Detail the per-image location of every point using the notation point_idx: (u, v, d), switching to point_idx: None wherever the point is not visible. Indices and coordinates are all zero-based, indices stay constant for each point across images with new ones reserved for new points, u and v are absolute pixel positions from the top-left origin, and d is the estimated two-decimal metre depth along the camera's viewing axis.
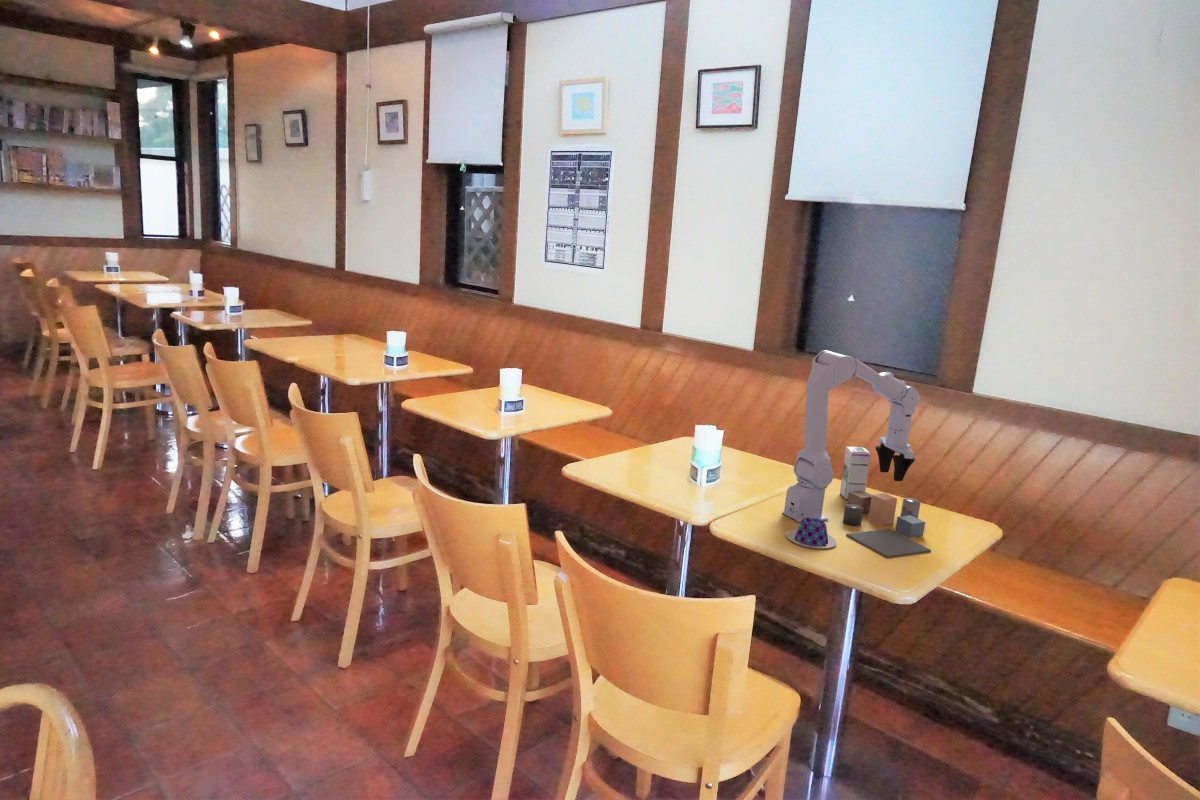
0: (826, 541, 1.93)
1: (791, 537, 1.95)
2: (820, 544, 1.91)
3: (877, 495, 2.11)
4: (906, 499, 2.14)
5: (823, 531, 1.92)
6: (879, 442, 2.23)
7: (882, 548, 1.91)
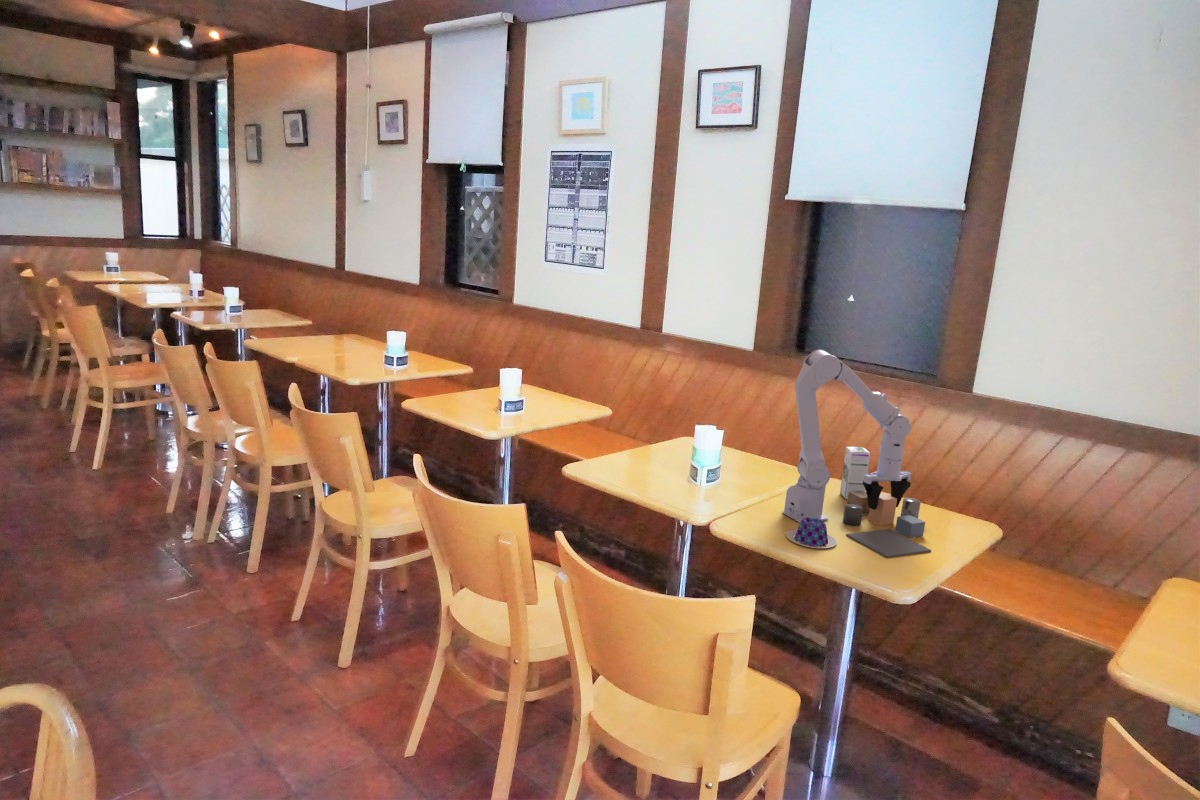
0: (826, 541, 1.93)
1: (791, 537, 1.96)
2: (820, 544, 1.91)
3: None
4: (906, 499, 2.14)
5: (823, 531, 1.92)
6: None
7: (882, 548, 1.91)
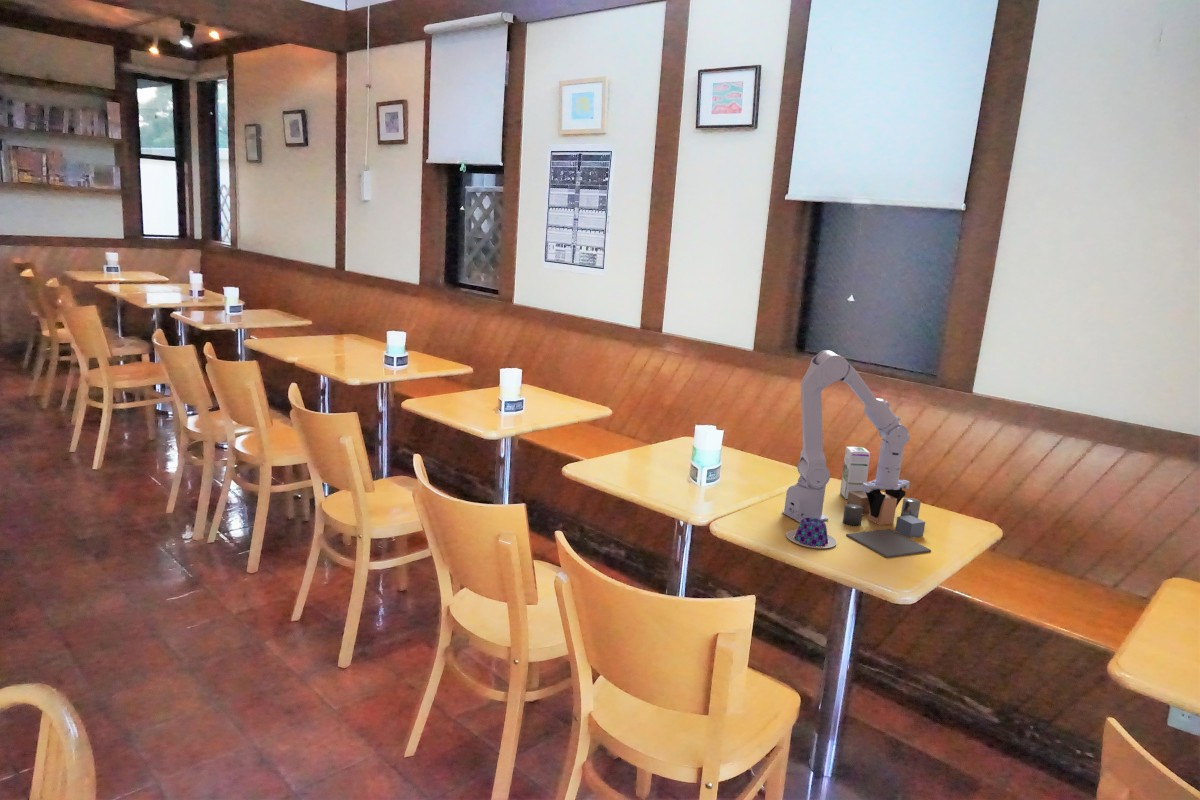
0: (826, 541, 1.93)
1: (791, 537, 1.96)
2: (820, 544, 1.91)
3: None
4: (906, 499, 2.14)
5: (823, 531, 1.92)
6: None
7: (882, 548, 1.91)
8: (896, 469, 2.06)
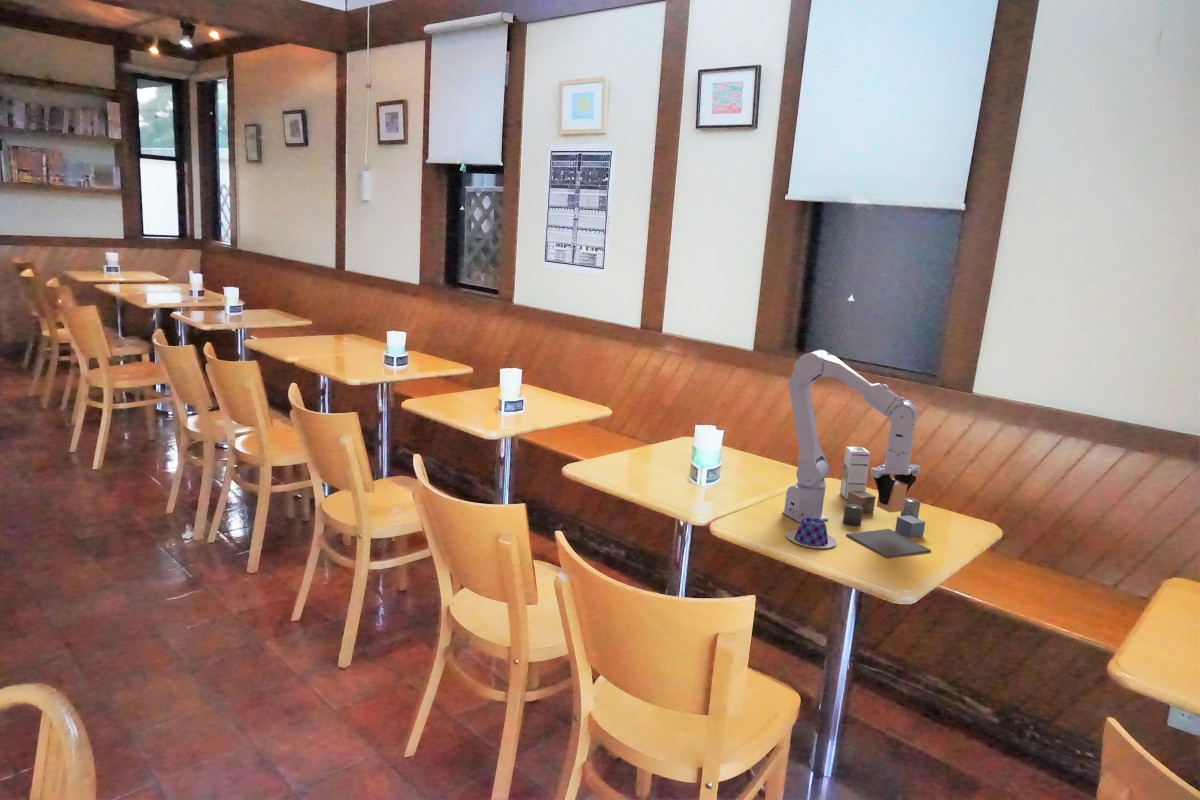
0: (826, 542, 1.93)
1: (791, 536, 1.96)
2: (819, 544, 1.91)
3: None
4: (906, 499, 2.14)
5: (822, 531, 1.92)
6: None
7: (882, 548, 1.91)
8: (907, 453, 1.94)
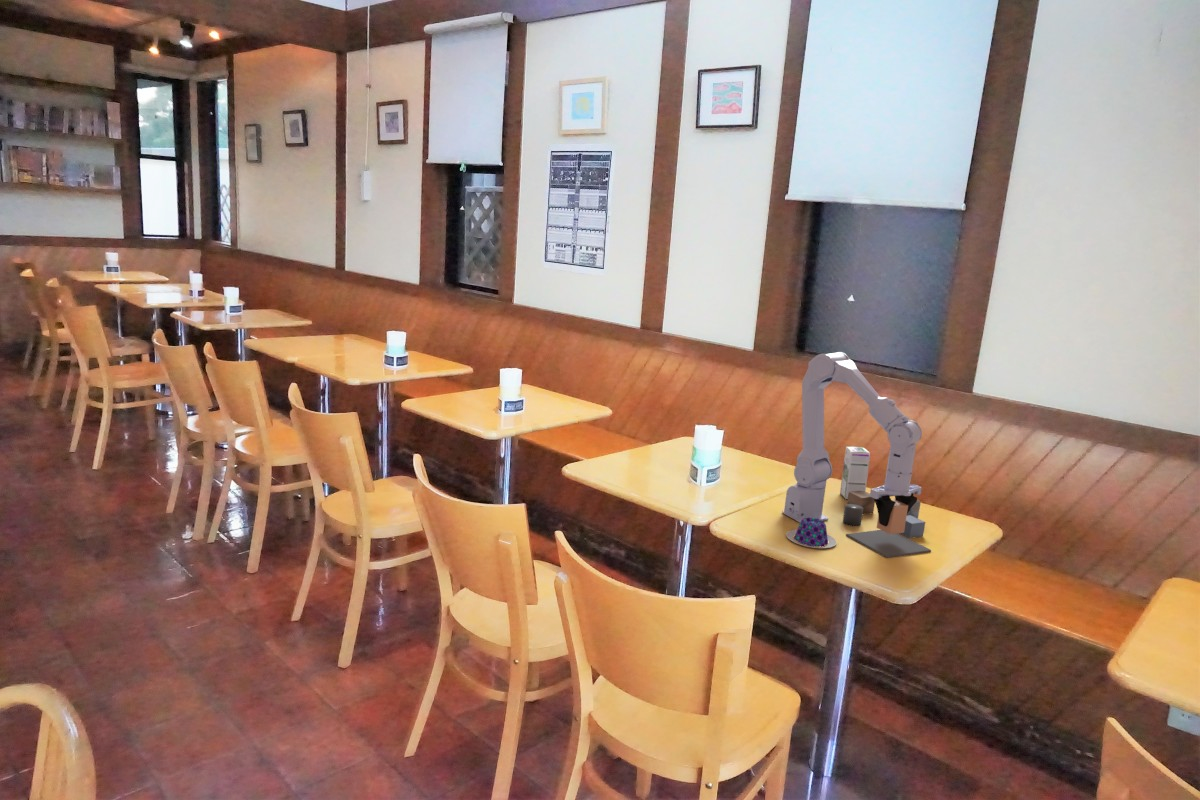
0: (825, 542, 1.93)
1: (791, 536, 1.96)
2: (818, 544, 1.91)
3: None
4: None
5: (822, 531, 1.91)
6: None
7: (882, 548, 1.91)
8: (907, 473, 1.90)
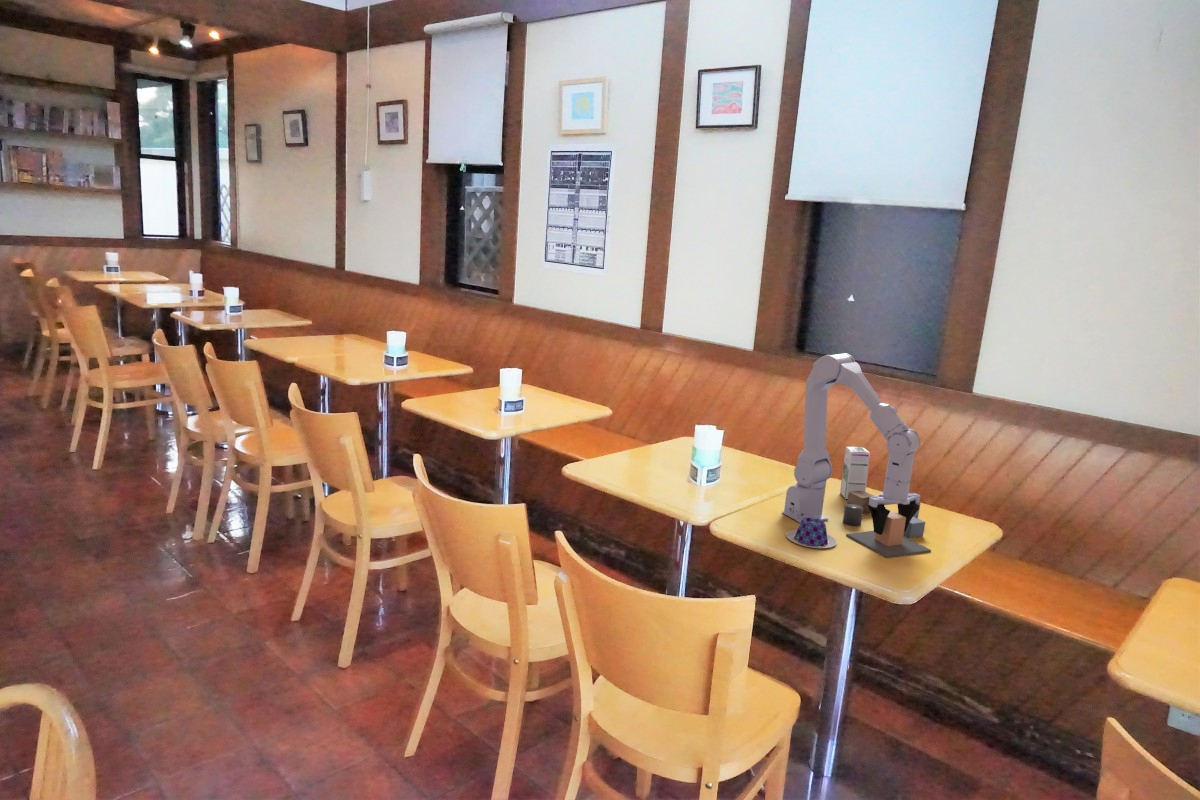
0: (825, 542, 1.93)
1: (791, 536, 1.96)
2: (818, 544, 1.91)
3: None
4: None
5: (821, 531, 1.91)
6: None
7: (882, 548, 1.91)
8: (906, 482, 1.90)
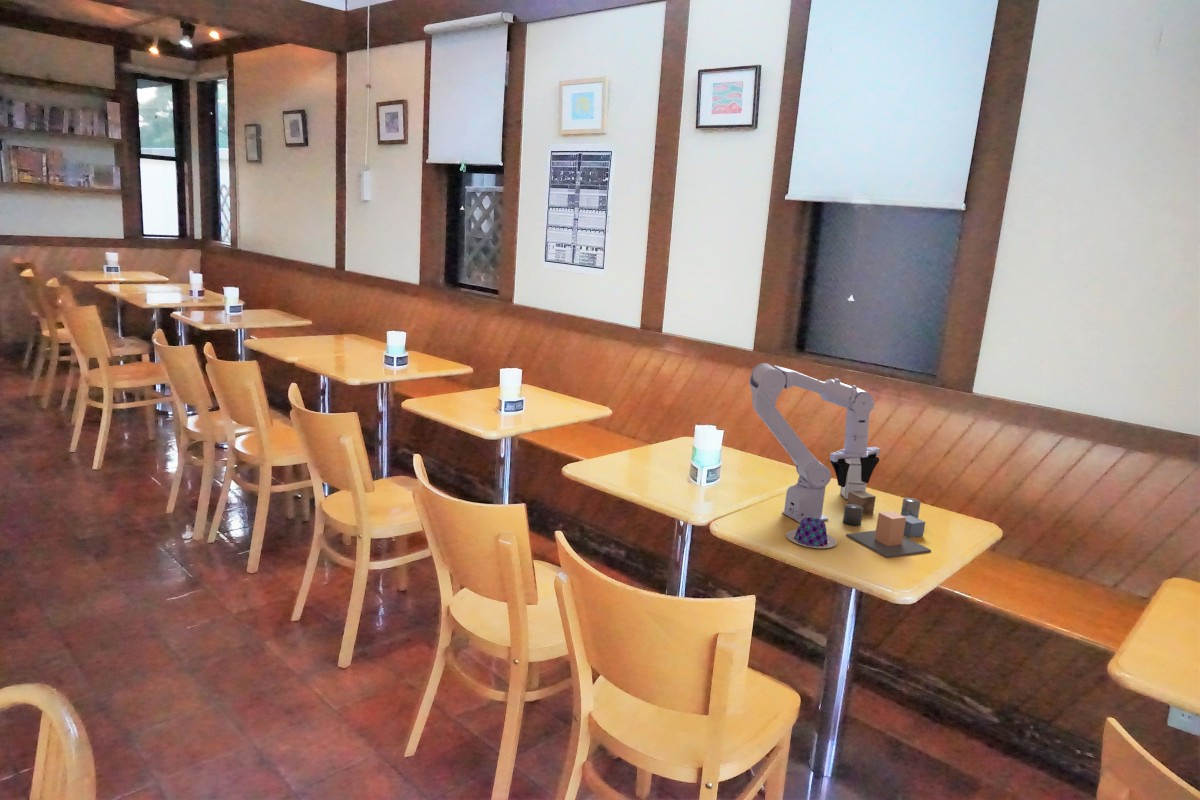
0: (825, 542, 1.92)
1: (791, 535, 1.96)
2: (817, 544, 1.91)
3: (884, 513, 1.95)
4: (906, 499, 2.14)
5: (821, 531, 1.91)
6: None
7: (882, 548, 1.91)
8: (863, 436, 2.05)
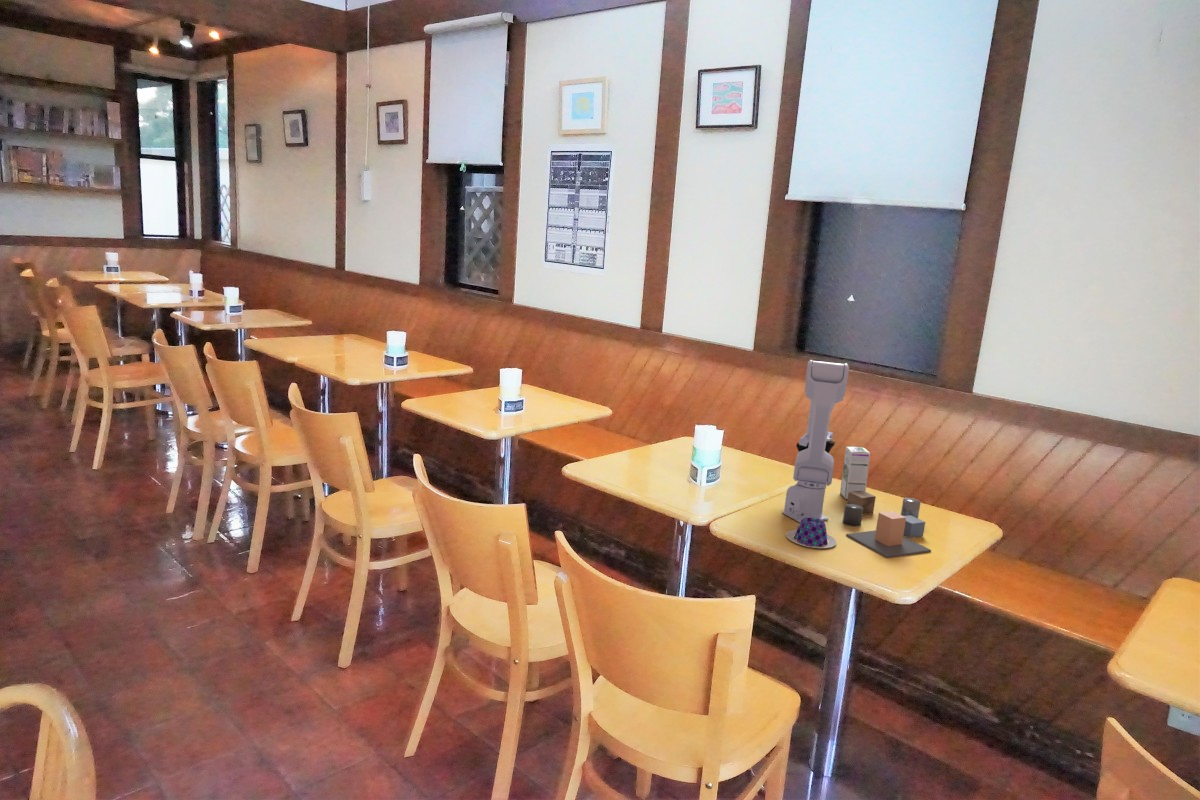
0: (824, 542, 1.92)
1: (791, 535, 1.97)
2: (816, 544, 1.91)
3: (884, 513, 1.95)
4: (906, 499, 2.14)
5: (820, 531, 1.91)
6: None
7: (882, 548, 1.91)
8: None
